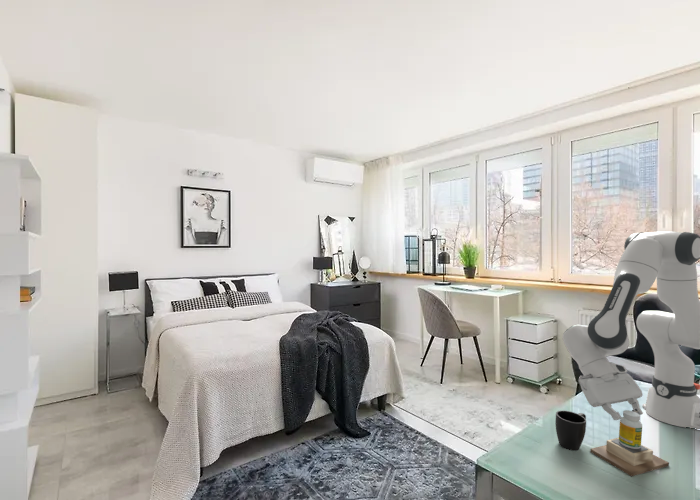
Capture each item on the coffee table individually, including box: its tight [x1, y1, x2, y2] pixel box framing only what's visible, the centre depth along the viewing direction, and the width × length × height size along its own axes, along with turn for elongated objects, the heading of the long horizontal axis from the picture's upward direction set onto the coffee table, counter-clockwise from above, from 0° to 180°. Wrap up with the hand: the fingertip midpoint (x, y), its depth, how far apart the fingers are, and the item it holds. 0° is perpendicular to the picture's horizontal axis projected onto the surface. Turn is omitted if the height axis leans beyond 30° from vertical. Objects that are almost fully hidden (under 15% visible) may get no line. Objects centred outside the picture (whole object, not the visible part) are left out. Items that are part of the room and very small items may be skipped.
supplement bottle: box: [618, 409, 643, 449], centre depth 110 cm, size 5×5×10 cm
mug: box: [554, 410, 587, 452], centre depth 117 cm, size 8×12×10 cm
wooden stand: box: [589, 437, 670, 477], centre depth 110 cm, size 16×12×4 cm
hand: (629, 417), depth 111 cm, fingers open, 8 cm apart
